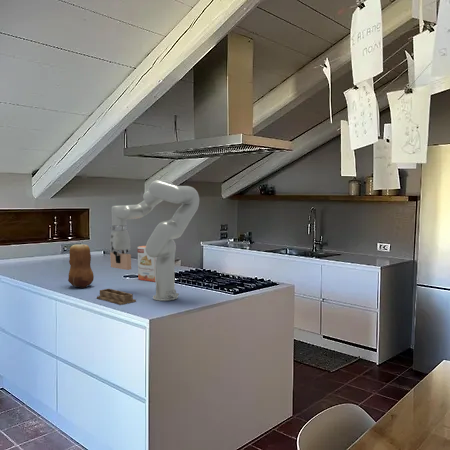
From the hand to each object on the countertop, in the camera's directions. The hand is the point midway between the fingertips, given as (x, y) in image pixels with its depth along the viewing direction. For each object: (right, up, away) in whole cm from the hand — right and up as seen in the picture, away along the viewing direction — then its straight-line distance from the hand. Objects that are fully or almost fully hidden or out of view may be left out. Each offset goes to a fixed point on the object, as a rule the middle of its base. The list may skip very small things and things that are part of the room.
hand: (120, 262), depth 248 cm
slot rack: (+1, -18, -15) cm, 23 cm away
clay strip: (0, -3, 0) cm, 3 cm away
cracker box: (+9, -14, +37) cm, 41 cm away
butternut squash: (-27, -16, +17) cm, 35 cm away
